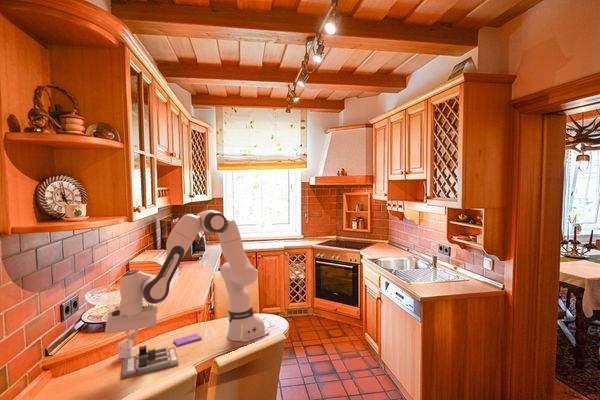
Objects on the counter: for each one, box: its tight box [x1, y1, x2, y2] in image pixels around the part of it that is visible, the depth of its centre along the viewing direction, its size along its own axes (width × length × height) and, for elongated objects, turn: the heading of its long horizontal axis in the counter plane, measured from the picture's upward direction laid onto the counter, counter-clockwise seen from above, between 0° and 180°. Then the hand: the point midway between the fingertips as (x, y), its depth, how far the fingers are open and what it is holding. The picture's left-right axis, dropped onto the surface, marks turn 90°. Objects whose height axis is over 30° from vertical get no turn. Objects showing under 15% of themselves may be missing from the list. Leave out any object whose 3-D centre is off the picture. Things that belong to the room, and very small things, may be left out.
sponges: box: [173, 332, 203, 347], centre depth 168 cm, size 7×13×2 cm, turn 127°
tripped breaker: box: [147, 346, 156, 360], centre depth 146 cm, size 3×3×5 cm
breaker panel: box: [121, 345, 179, 379], centre depth 146 cm, size 22×16×6 cm
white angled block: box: [117, 337, 136, 359], centre depth 153 cm, size 4×10×9 cm
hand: (132, 339), depth 142 cm, fingers closed
